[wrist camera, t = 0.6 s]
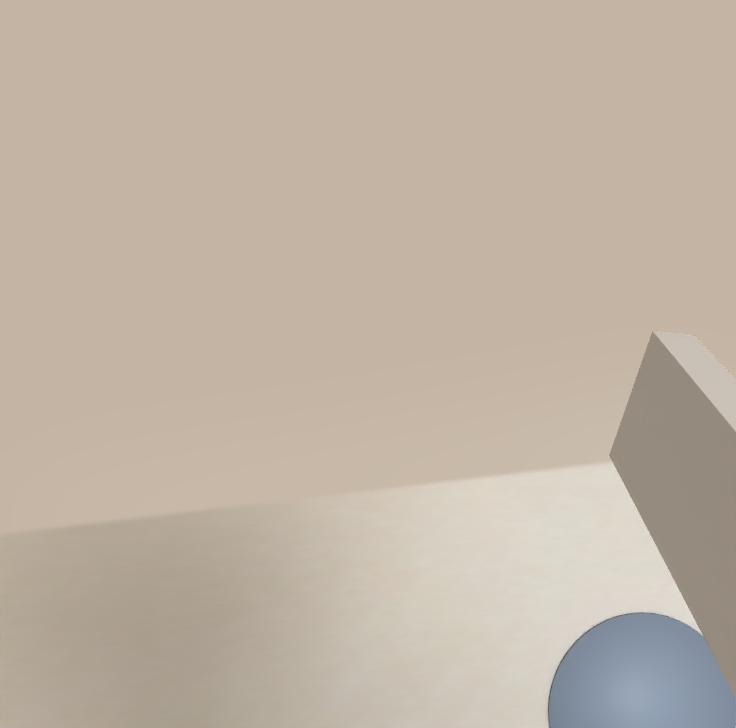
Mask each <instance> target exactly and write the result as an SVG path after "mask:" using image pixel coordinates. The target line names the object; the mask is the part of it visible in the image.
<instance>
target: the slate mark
mask: <svg viewBox="0 0 736 728" xmlns="http://www.w3.org/2000/svg"><path fill="white" fill-rule="evenodd" d="M549 725H550V728H735V727H736V698H735V696H734V694H733V692H732V690H731V688H730V686H729V684H728V682H727V680H726V678H725V676H724V675H723V673H722V671H721V669H720V667H719V665H718V663H717V661H716V659H715V657H714V655H713V653H712V652H711V650H710V648H709V646H708V644H707V642H706V640H705V638H704V637H703V636H702V635H701V634H700V633H698V632H697V631H695V630H694V629H692V628H691V627H690V626H688V625H686V624H684V623H682V622H680V621H678V620H676V619H673V618H670V617H667V616H663V615H658V614H652V613H633V614H626V615H622V616H617V617H615V618H612V619H609V620H606V621H604V622H602V623H600V624H599V625H597V626H595V627H593V628H592V629H591V630H589V631H588V632H586V633H585V634H584V635H583V636H582V637H581V638H580V639H579V640H577V641H576V642H575V644H574V645H573V646H572V647H571V648H570V650H569V651H568V652H567V654H566V655H565V657H564V659H563V660H562V662H561V664H560V666H559V668H558V670H557V672H556V675H555V678H554V681H553V684H552V687H551V693H550V698H549Z"/></svg>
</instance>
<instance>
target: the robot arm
mask: <svg viewBox="0 0 736 728" xmlns="http://www.w3.org/2000/svg"><path fill="white" fill-rule="evenodd" d="M610 458H611V460H612V461H613V463H614V465H615V467H616V469H617V471H618V473H619V475H620V477H621V479H622V481H623V483H624V484H625V486H626V488H627V490H628V492H629V494H630V496H631V498H632V500H633V502H634V504H635V506H636V508H637V509H638V511H639V513H640V515H641V517H642V519H643V521H644V523H645V525H646V527H647V529H648V531H649V532H650V534H651V536H652V538H653V540H654V542H655V544H656V546H657V548H658V550H659V552H660V554H661V556H662V557H663V559H664V561H665V563H666V565H667V567H668V569H669V571H670V573H671V575H672V577H673V579H674V580H675V582H676V584H677V586H678V588H679V590H680V592H681V594H682V596H683V598H684V600H685V602H686V604H687V605H688V607H689V609H690V611H691V613H692V615H693V617H694V619H695V621H696V623H697V625H698V627H699V628H700V630H701V632H702V634H703V636H704V638H705V640H706V642H707V644H708V646H709V648H710V650H711V652H712V653H713V655H714V657H715V659H716V661H717V663H718V665H719V667H720V669H721V671H722V673H723V675H724V676H725V678H726V680H727V682H728V684H729V686H730V688H731V690H732V692H733V694H734V696H735V698H736V380H735V379H734V377H733V376H732V375H731V374H730V373H729V372H728V371H727V370H726V369H725V368H724V367H723V366H722V365H721V363H720V362H719V361H718V360H717V359H716V358H715V357H714V356H713V355H712V354H711V353H710V352H709V351H708V350H707V349H706V347H705V346H704V345H703V344H702V343H701V342H700V341H699V340H698V339H697V338H696V337H695V336H694V335H688V334H678V333H666V332H657V331H653V332H652V335H651V337H650V340H649V343H648V346H647V349H646V352H645V354H644V358H643V360H642V363H641V366H640V369H639V372H638V375H637V377H636V380H635V383H634V386H633V389H632V392H631V395H630V397H629V401H628V403H627V406H626V409H625V412H624V415H623V418H622V421H621V423H620V426H619V429H618V432H617V435H616V438H615V440H614V443H613V446H612V449H611V452H610Z"/></svg>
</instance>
